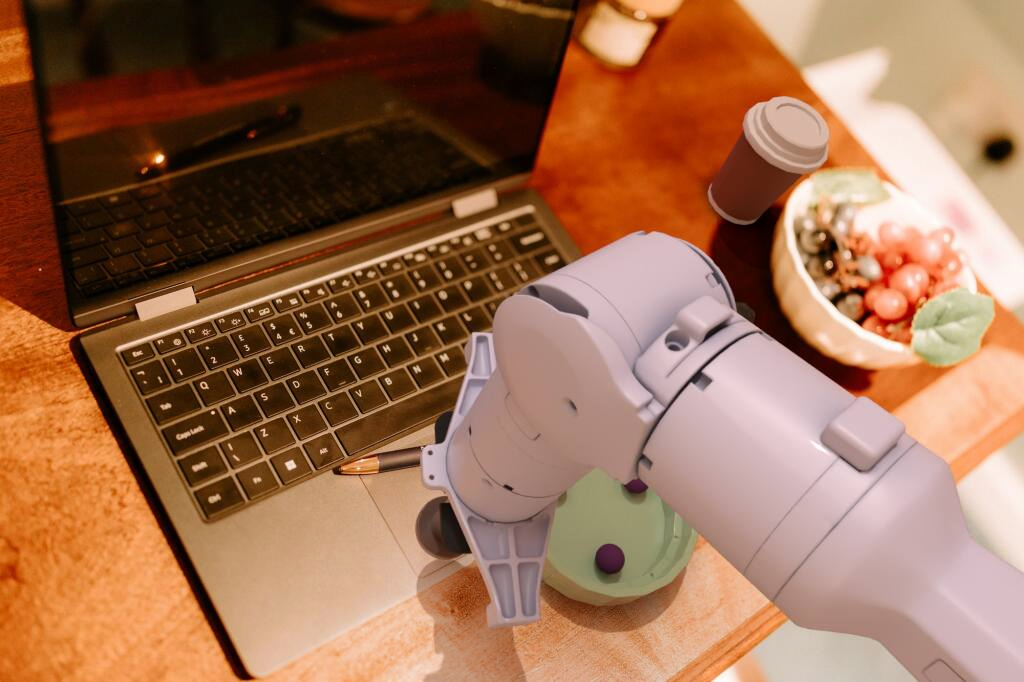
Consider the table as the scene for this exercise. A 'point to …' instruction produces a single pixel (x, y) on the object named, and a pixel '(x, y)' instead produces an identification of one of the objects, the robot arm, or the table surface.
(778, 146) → the coffee cup
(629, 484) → the berry
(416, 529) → the masher
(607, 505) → the bowl
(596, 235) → the table surface
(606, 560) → the berry
